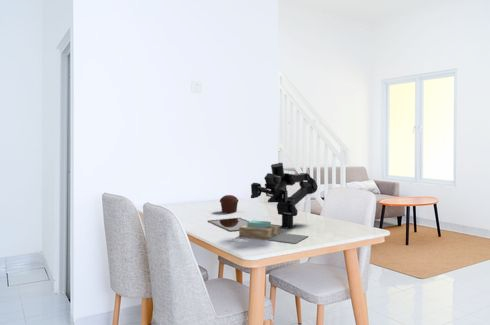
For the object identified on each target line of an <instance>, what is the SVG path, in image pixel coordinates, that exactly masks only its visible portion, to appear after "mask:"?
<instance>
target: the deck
mask: <svg viewBox="0 0 490 325" xmlns="http://www.w3.org/2000/svg"><path fill="white" fill-rule="evenodd" d="M280 226H281V224H271V226H270V227H267V228H257V227H248V226H247V225H245V226H242V227H239V231H238V233H239V234H238V236H239V237H242V238H249V239H251V238H252V239H256V240H257V239H259V240H266V241H268V240H267V239H269V238H271V237H273V236H276V235H278V234H280V233H281V227H280Z"/></svg>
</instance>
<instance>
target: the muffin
mask: <svg viewBox="0 0 490 325" xmlns="http://www.w3.org/2000/svg"><path fill="white" fill-rule="evenodd" d="M219 203H220V206H221V212H222V213H224V212H225V213H224V214H233V213H237V210H238V203H239V199H238V198H237V197H236V196H235V195H231V194H226V195H223V196H222V197H221V198H220V199H219Z"/></svg>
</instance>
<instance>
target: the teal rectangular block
mask: <svg viewBox="0 0 490 325" xmlns="http://www.w3.org/2000/svg"><path fill="white" fill-rule="evenodd" d="M248 221H249V222H247V226H248V227H257V228H267V227H270V226H271V221H268V220H267V221H266V220H265V221H264V220H257V219H253V220H248Z"/></svg>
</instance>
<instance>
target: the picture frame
mask: <svg viewBox="0 0 490 325" xmlns="http://www.w3.org/2000/svg"><path fill="white" fill-rule="evenodd" d="M249 221H250V220H247V219H245V218H242V217H231V218H230V217H229V218H221V219H210V220H207V222H208V223H210V222H211V223H210V224H212V223H213V225H214V224H215V226H217V227H219V228H221V229H222V230H223V229H224V230H225V229H226V231H228V232H230V233H231V232H233V233H234V232H239V227H242V226H245V225H247V222H249Z"/></svg>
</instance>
